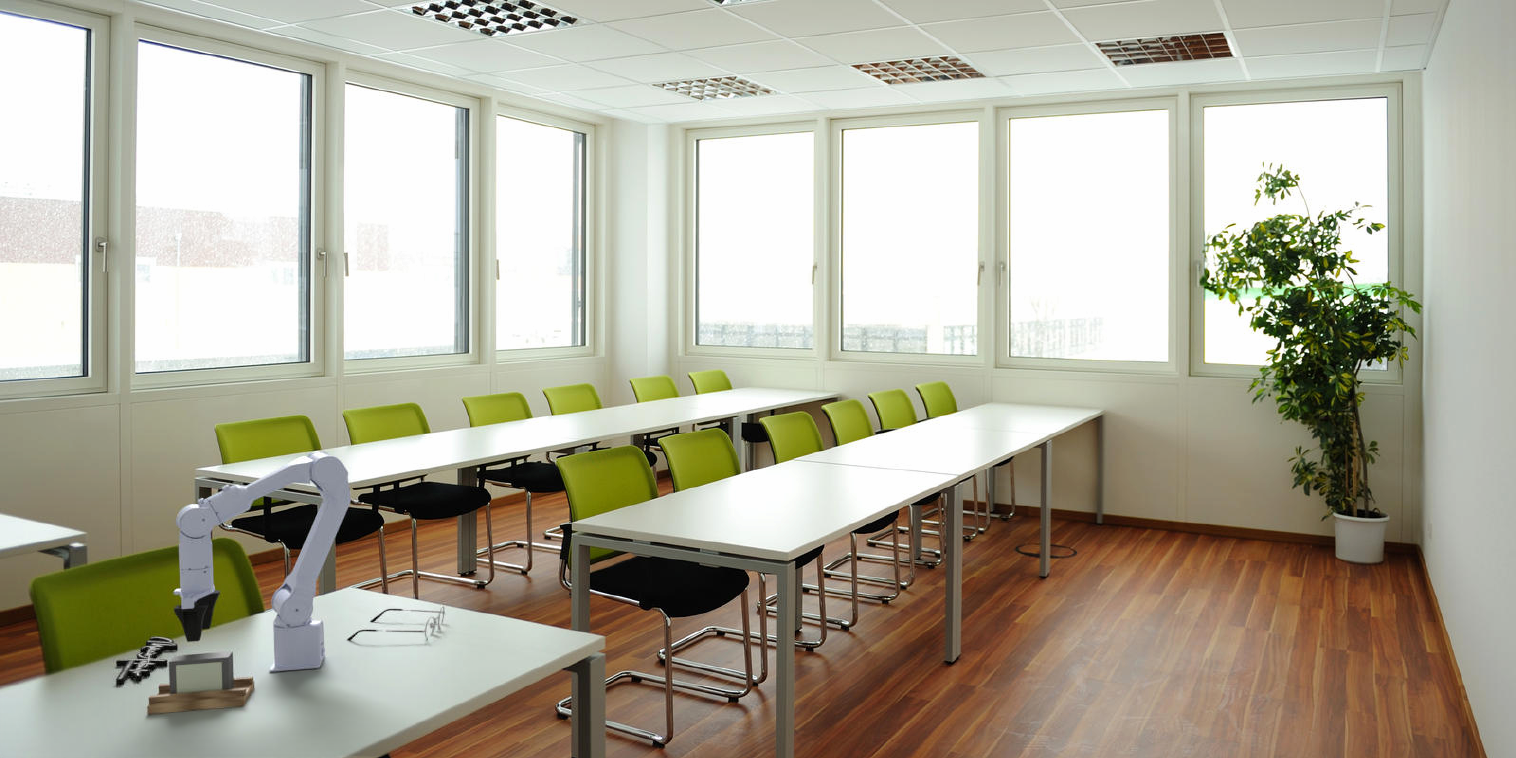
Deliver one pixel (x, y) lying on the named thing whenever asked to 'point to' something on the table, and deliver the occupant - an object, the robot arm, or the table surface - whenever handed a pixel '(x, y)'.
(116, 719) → the table surface
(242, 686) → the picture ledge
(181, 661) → the grey block
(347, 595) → the table surface
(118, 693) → the table surface
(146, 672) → the nameplate
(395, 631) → the eyeglasses
